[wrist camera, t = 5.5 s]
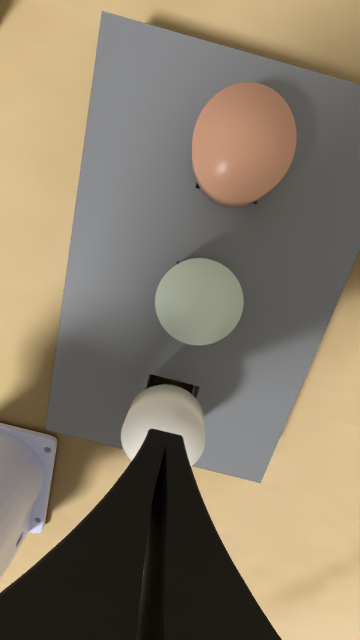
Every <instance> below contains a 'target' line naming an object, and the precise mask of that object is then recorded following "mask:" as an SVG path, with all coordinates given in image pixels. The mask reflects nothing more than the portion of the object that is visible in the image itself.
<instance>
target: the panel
mask: <svg viewBox="0 0 360 640" xmlns="http://www.w3.org/2000/svg"><path fill="white" fill-rule="evenodd" d="M244 82H254V83H259V84H263V85H265V86H268V87H270V88H271V89H273V90H275V91H276V92H277V93H278V94H280V96H281V97H282V98H283V99H284V100H285V101H286V103H287V104H288V106H289V108H290V110H291V112H292V114H293V117H294V120H295V125H296V133H297V139H296V148H295V153H294V157H293V160H292V162H291V165H290V167H289V169H288V171H287V172H286V174H285V175H284V177H283V178H282V179H281V180H280V182H279V183H278V184H277V185H276V186H275V187H273V188H272V189H271V190H270V191H269V192H267V193H266V194H265V195H264V196H263V197H261V198H260V199H258V200H257V201H255V202H253V203H251V204H249V205H246V206H242V207H226V206H222V205H219V204H217V203H215V202H213V201H212V200H210V199H209V198H208V197H207V196H206V195H205V194H204V193H203V192H202V191H201V189H198V184H197V182H196V180H195V176H194V173H193V168H192V138H193V132H194V128H195V125H196V122H197V120H198V117H199V115H200V113H201V111H202V110H203V108H204V107H205V105H206V104H207V103H208V102H209V101H210V100H211V98H212V97H213V96H215V95H216V94H217V93H218V92H220V91H221V90H223V89H225V88H227V87H229V86H231V85H234V84H238V83H244ZM359 251H360V84H358V83H354V82H351V81H347V80H344V79H340V78H337V77H333V76H330V75H326V74H323V73H319V72H315V71H312V70H308V69H305V68H301V67H298V66H294V65H291V64H287V63H284V62H280V61H277V60H273V59H270V58H266V57H262V56H259V55H255V54H252V53H248V52H245V51H241V50H238V49H234V48H231V47H227V46H224V45H220V44H217V43H213V42H210V41H206V40H202V39H199V38H195V37H192V36H188V35H185V34H181V33H178V32H174V31H171V30H167V29H164V28H160V27H157V26H153V25H149V24H146V23H142V22H139V21H135V20H132V19H128V18H125V17H121V16H118V15H114V14H111V13H107V12H104V11H102V15H101V22H100V29H99V37H98V44H97V51H96V59H95V66H94V73H93V81H92V88H91V95H90V103H89V110H88V117H87V125H86V132H85V139H84V147H83V154H82V161H81V169H80V176H79V183H78V191H77V198H76V205H75V213H74V220H73V227H72V235H71V242H70V249H69V257H68V264H67V271H66V279H65V286H64V293H63V301H62V308H61V315H60V323H59V330H58V337H57V345H56V352H55V359H54V367H53V374H52V381H51V389H50V396H49V403H48V411H47V418H46V425H45V430H49V431H53V432H57V433H61V434H65V435H69V436H73V437H77V438H81V439H85V440H89V441H93V442H97V443H101V444H105V445H109V446H113V447H117V448H121V449H123V446H122V442H121V430H122V426H123V424H124V421H125V419H126V416H127V414H128V411H129V409H130V406H131V404H132V402H133V400H134V399H135V397H136V396H137V395H138V394H139V393H141V392H142V391H143V390H145V389H147V388H148V385H149V381H150V377H151V374H152V375H156V376H160V377H164V378H168V379H172V380H176V381H180V382H184V383H187V384H191V385H194V386H193V389H192V392H191V394H192V395H193V396H194V397H195V398H196V399H197V400H198V402H199V403H200V405H201V408H202V410H203V415H204V428H205V447H204V450H203V453H202V455H201V457H200V458H199V459H198V461H197V462H196V463H195V464H194V465H192V466H194V467H198V468H202V469H206V470H210V471H214V472H218V473H222V474H226V475H230V476H234V477H238V478H242V479H246V480H250V481H254V482H258V483H261V480H262V478H263V476H264V473H265V471H266V469H267V466H268V464H269V462H270V459H271V457H272V455H273V452H274V450H275V448H276V445H277V443H278V441H279V438H280V436H281V434H282V431H283V429H284V427H285V424H286V422H287V420H288V417H289V415H290V412H291V410H292V408H293V405H294V403H295V401H296V398H297V396H298V394H299V391H300V389H301V387H302V384H303V382H304V380H305V377H306V375H307V373H308V370H309V368H310V366H311V363H312V361H313V359H314V356H315V354H316V352H317V349H318V347H319V344H320V342H321V340H322V337H323V335H324V333H325V330H326V328H327V326H328V323H329V321H330V319H331V316H332V314H333V312H334V309H335V307H336V305H337V302H338V300H339V298H340V295H341V293H342V291H343V288H344V286H345V284H346V281H347V279H348V277H349V274H350V272H351V269H352V267H353V265H354V262H355V260H356V258H357V255H358V253H359ZM192 258H206V259H210V260H213V261H216V262H218V263H220V264H222V265H224V266H225V267H227V268H228V269H229V270H230V271H231V272H232V273H233V274H234V275H235V276H236V278H237V280H238V281H239V283H240V286H241V288H242V292H243V299H244V304H243V311H242V315H241V317H240V320H239V322H238V323H237V325H236V327H235V328H234V329H233V330H232V331H231V332H230V333H229V334H228V335H227V336H226V337H224V338H223V339H221V340H219V341H217V342H215V343H212V344H208V345H190V344H186V343H183V342H181V341H178V340H177V339H175V338H173V337H172V336H171V335H170V334H168V333H167V331H166V330H165V329H164V328H163V326H162V325H161V323H160V321H159V319H158V317H157V314H156V309H155V296H156V291H157V288H158V285H159V283H160V281H161V280H162V278H163V277H164V275H165V274H166V273H167V272H168V271H169V270H170V269H171V268H173V267H174V266H175V265H177V264H178V263H179V262H182V261H185V260H187V259H192Z"/></svg>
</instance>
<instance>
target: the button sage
mask: <svg viewBox="0 0 360 640" xmlns="http://www.w3.org/2000/svg"><path fill="white" fill-rule="evenodd" d="M243 304H244V299H243V292H242V288H241V286H240V283H239V281H238V280H237V278H236V276H235V275H234V274H233V273H232V272H231V271H230V270H229V269H228V268H227V267H225V266H224V265H222V264H220V263H218V262H216V261H213V260H210V259H206V258H192V259H187V260H185V261H182V262H180V263H178V264H177V265H175V266H174V267H173V268H171V269H170V270H169V271H168V272H167V273H166V274H165V275H164V277H163V278H162V280H161V281H160V283H159V285H158V288H157V291H156V296H155V309H156V314H157V317H158V319H159V321H160V323H161V325H162V326H163V328H164V329H165V330H166V331H167V333H168V334H170V335H171V336H172V337H173V338H175V339H177V340H178V341H181V342H183V343H186V344H190V345H208V344H212V343H215V342H217V341H219V340H221V339H223V338H224V337H226V336H227V335H228V334H229V333H230V332H231V331H232V330H233V329H234V328H235V327H236V325H237V323H238V322H239V320H240V317H241V315H242V311H243Z"/></svg>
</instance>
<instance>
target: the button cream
mask: <svg viewBox="0 0 360 640" xmlns="http://www.w3.org/2000/svg"><path fill="white" fill-rule="evenodd" d="M151 428H153V429H157V430H161V431H165V432H169V433H173V434H178V435H182V437H183V439H184V444H185V448H186V452H187V456H188V459H189V463H190V466H192V465H194V464H195V463H196V462H197V461H198V459H199V458H200V457H201V455H202V453H203V450H204V447H205V428H204V415H203V410H202V408H201V405H200V403H199V402H198V400H197V399H196V398H195V397H194V396H193V395H192V394H191V393H189V392H188V391H186V390H185V389H183V388H181V387H180V386H178V385H176V384H173V383H165V384H162V385H156V386H152V387H149V388H147V389H145V390H143V391H142V392H141V393H139V394H138V395H137V396H136V397H135V399H134V400H133V402H132V404H131V406H130V409H129V411H128V414H127V416H126V419H125V421H124V424H123V426H122V430H121V442H122V446H123V449H124V451H125V453H126V454H127V456H128V457H129V458H130V460H131V461H132V460H133V458H134V457H135V455H136V454H137V452H138V451H139V449H140V447H141V446H142V444H143V442H144V440H145V438H146V436H147V433H148V430H149V429H151Z"/></svg>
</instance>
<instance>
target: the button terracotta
mask: <svg viewBox="0 0 360 640" xmlns="http://www.w3.org/2000/svg"><path fill="white" fill-rule="evenodd" d="M296 139H297V133H296V125H295V120H294V117H293V114H292V112H291V110H290V108H289V106H288V104H287V103H286V101H285V100H284V99H283V98H282V97H281V96H280V94H278V93H277V92H276V91H275V90H273V89H271V88H270V87H268V86H265V85H263V84H259V83H254V82H244V83H238V84H234V85H231V86H229V87H227V88H225V89H223V90H221V91H220V92H218V93H217V94H216V95H215V96H213V97H212V98H211V100H210V101H209V102H208V103H207V104H206V105H205V107H204V108H203V110H202V111H201V113H200V115H199V117H198V120H197V122H196V125H195V128H194V132H193V138H192V168H193V173H194V176H195V180H196V182H197V184H198V186H199V187H200V189H201V191H202V192H203V193H204V194H205V195H206V196H207V197H208V198H209V199H210V200H212V201H213V202H215V203H217V204H219V205H222V206H226V207H242V206H246V205H249V204H251V203H253V202H255V201H257V200H258V199H260V198H261V197H263V196H264V195H265V194H266V193H267V192H269V191H270V190H271V189H272V188H273V187H275V186H276V185H277V184H278V183H279V182H280V180H281V179H282V178H283V177H284V175H285V174H286V172H287V171H288V169H289V167H290V165H291V162H292V160H293V157H294V153H295V148H296Z"/></svg>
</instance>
